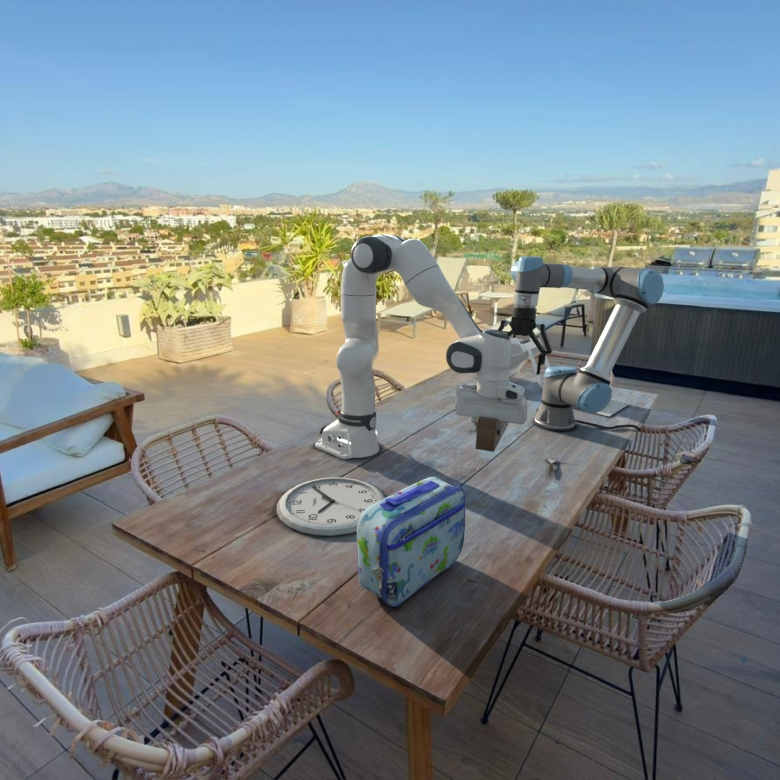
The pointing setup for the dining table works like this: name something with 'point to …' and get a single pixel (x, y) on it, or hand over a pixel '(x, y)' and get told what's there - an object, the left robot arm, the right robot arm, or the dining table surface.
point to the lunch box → (410, 539)
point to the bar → (488, 433)
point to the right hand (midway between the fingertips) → (516, 371)
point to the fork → (551, 462)
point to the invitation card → (611, 408)
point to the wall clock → (327, 505)
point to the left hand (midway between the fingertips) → (488, 433)
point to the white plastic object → (524, 356)
